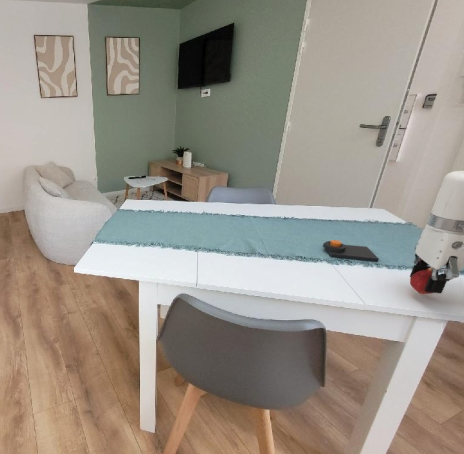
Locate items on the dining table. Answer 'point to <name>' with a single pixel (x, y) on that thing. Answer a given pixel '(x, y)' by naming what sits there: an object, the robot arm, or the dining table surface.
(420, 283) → the onion
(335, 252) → the scale
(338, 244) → the tare button
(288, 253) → the dining table surface
